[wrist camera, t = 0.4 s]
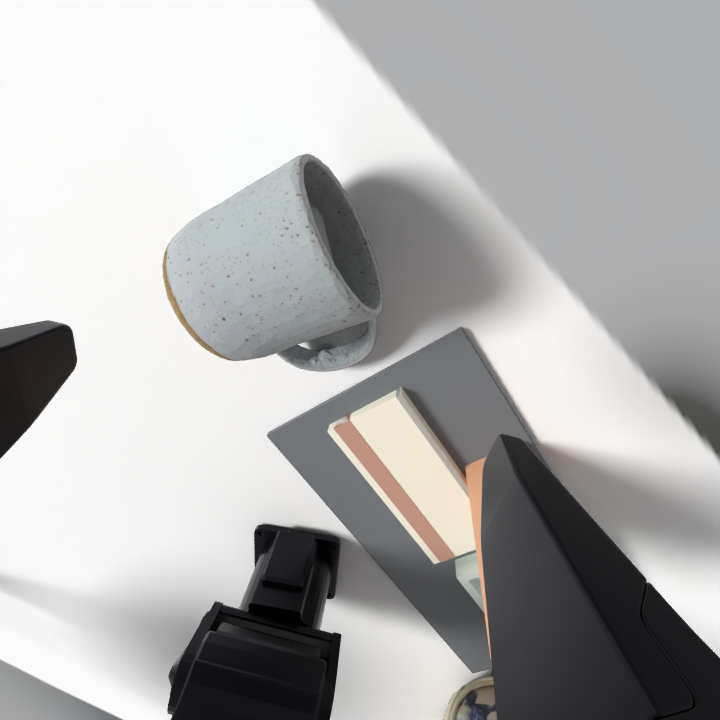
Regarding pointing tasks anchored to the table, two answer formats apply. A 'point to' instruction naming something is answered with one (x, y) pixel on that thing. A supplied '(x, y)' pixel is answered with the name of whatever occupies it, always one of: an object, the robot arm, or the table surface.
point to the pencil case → (473, 701)
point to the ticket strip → (410, 473)
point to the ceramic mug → (277, 271)
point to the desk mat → (369, 512)
